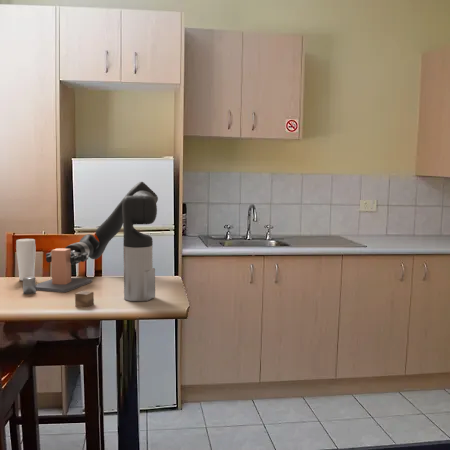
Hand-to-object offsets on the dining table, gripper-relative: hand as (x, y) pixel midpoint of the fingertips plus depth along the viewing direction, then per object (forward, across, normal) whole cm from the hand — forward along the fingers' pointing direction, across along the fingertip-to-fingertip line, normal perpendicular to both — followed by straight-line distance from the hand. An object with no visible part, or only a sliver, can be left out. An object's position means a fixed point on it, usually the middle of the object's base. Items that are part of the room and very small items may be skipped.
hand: (59, 259), depth 193 cm
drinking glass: (-9, +17, -10) cm, 21 cm away
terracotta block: (-1, 0, -8) cm, 8 cm away
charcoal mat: (-1, 0, -9) cm, 9 cm away
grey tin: (+11, +6, -10) cm, 16 cm away
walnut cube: (+24, -18, -10) cm, 32 cm away
